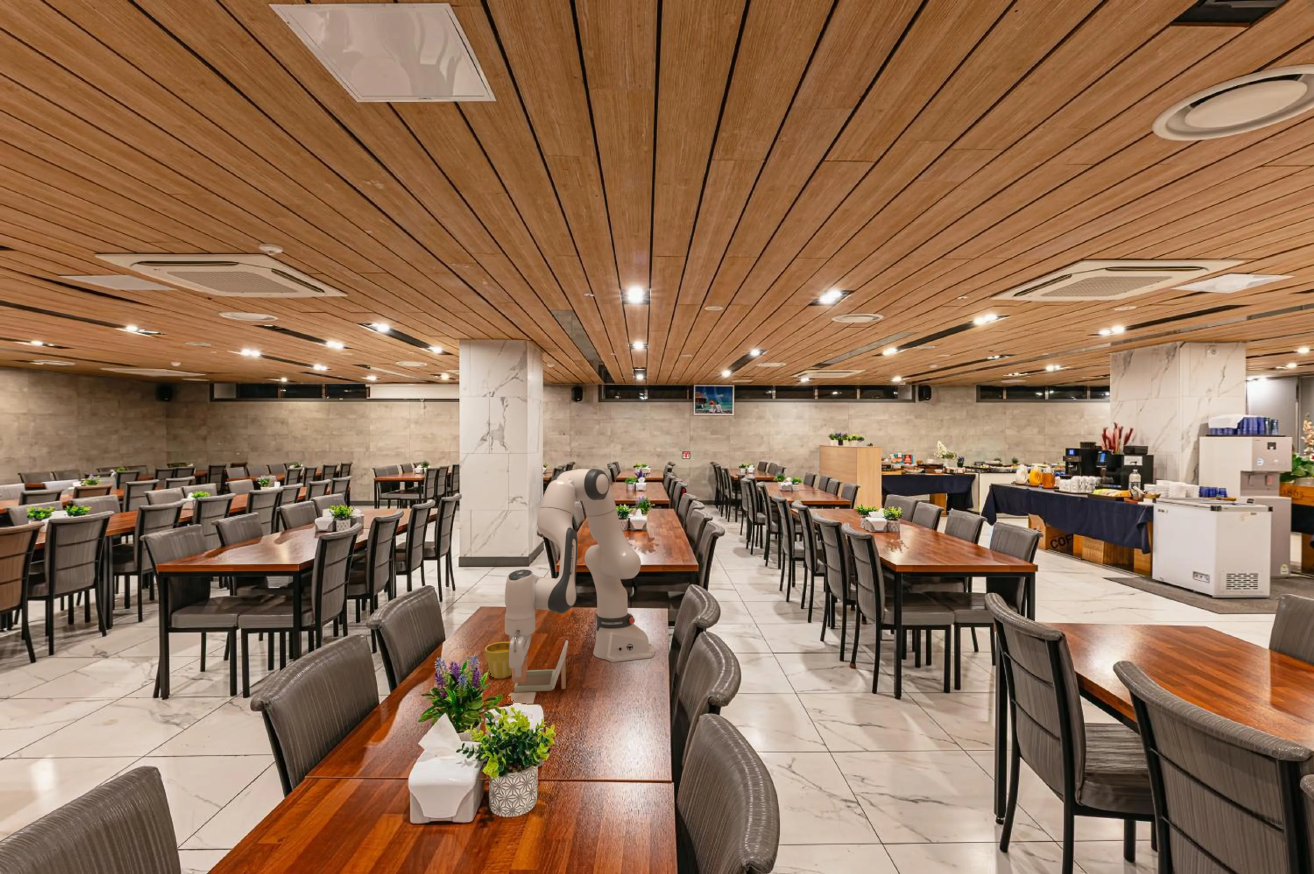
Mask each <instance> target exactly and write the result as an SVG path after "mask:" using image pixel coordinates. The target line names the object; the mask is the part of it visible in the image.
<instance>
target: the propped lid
mask: <svg viewBox="0 0 1314 874" xmlns="http://www.w3.org/2000/svg"><path fill="white" fill-rule="evenodd" d="M568 645H569V640H565V642H564V645H563V648H562V650H561V654H560V656H559V659H558V661H557V663H556V667H555V669H556V670H555V675H554V680H553V685H552V690H555V687H556V684H557V681H558V679H559V676H560V674H561V690H566V688H567V687H566V678H567V677H566V674H567V673H566V667H567V666H566V663H567V662H566V656H567V650H568V647H569V646H568Z"/></svg>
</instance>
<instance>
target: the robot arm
mask: <svg viewBox="0 0 1314 874" xmlns="http://www.w3.org/2000/svg"><path fill="white" fill-rule="evenodd" d="M576 502H584V503H583V504H584V510H585V515H586V520H587V524H588V529H589V533H590V535H591V537H592V539H594V540H595V542H596V543H597V544H593V545H591V546H589V547H588V548H587V549H586V551H585V553H584V563H585V566H586V567H587V569H589V572H590V574H591V577H592V581H593V583H594V586H595V590H596V604H597V605H596V607H597V608H596V610H597V613H596V616H595V629H596V637H595V644H594V649H593V652H592V654H593V656H594V657H596V658H598V659H602V660H606V661H608V662H610V663H616V662H625V661H635V660H643V659H651V658H653V657H654V656H655V655H656V649H655V647H654V645H653V644H651V643H650V642H649V638H648V635H647V633H646V632H645V631H644V630H643V629H641V628H640V627H639V626H638V625H636V624H635V622H636V619H635V617H634V616H633V614H632V613H631V612H630V613H629V611H628V609H629V608H628V603H629V602H628V591H627V589H626V588H625V586H623V584H622V580H628V579H634V578H635V577H636V576H637V575H638V574H639V573H640V571H641V566H642V561H641V557H640V555H639V554H638V553H637V552H636V551H635V550H634V549H633V548H632V546H631V545H630V543H629V541H628V539H627V538H626V536H625V533H624V532H623V530H622V527H621V524H620V523H621V521H620V519H619V515H618V509H617V506H616V502H615V498H614V494H613V492H612V490H611V487H610V480H609V476H608V475H607V473H606V472H605V471H604V470H602V469H599V468H577V469H571V470H563V471H559V472H557V473H555V474H554V475H553V477H552V479H551V481H550V482H549V483H548V485H547V488H546V490H545V492H544V494H543V496H542V500H541V503H540V506H539V510H538V515H537V519H536V523H537V524H536V526H537V528H538V531H539V532H540V534H541V535H543V537H544V538H547V539H548V540H549V541H551V542H553V543H554V544H556V545H557V546H558V547H559V550H560V557H559V572H558V576H557V578H553V577H552V578H551V577H546V576H539V575H536V574H534V573H533V571H532V570H530V569H518V570H514V571H512V572H510V573H509V574H508V575H507V578H506V582H505V589H504V604H505V609H506V611H505V615H504V633H505V635H508V638H509V639H510V641H509V642H510V646H509V667H510V668H514V669H515V677H521V675H522V665H523V662H524V659H525V657H526V654H527V655H528V651H529V649H530V647H531V646H530V645H531V640H532V634H534V633H535V631H536V612H535V610H536V609H538V610H545V611H550V612H554V613H556V614H557V613H558V614H565V613H566V612H568V611H569V610H570V609H572V607H574V605H575V604H576V601H577V596H578V595H577V581H576V580H577V563H578V547H579V546H578V544H579V543H578V541H579V540H578V533H577V531H576V530H575V529H574V528H573V516H574V510H575V504H576Z"/></svg>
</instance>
